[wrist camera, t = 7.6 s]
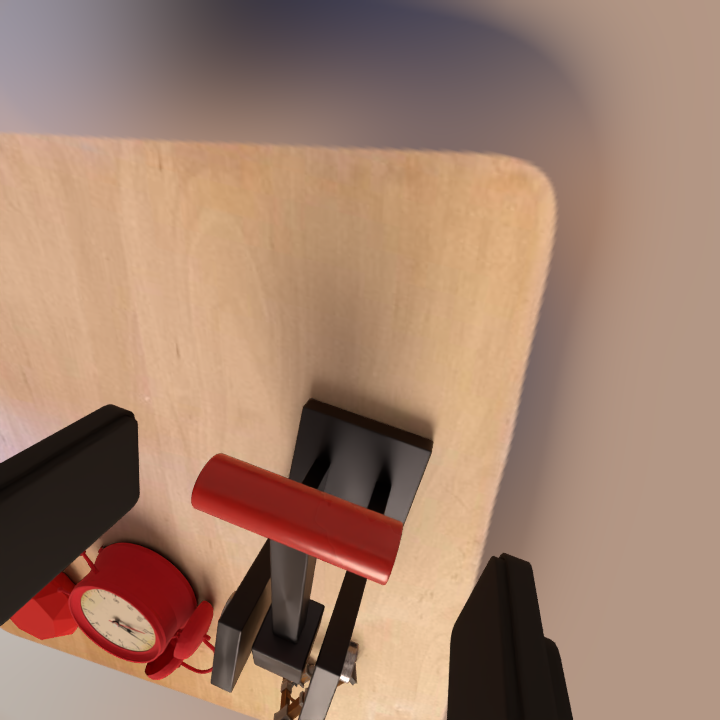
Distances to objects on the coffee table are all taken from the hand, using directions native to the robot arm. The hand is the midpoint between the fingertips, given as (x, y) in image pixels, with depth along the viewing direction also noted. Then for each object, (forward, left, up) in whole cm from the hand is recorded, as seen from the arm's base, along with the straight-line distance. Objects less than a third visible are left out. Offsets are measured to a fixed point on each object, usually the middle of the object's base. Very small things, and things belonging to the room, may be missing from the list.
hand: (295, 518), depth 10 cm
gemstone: (+37, -27, -14) cm, 48 cm away
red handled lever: (+5, 0, -3) cm, 6 cm away
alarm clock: (+30, -14, -14) cm, 36 cm away
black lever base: (+10, 0, -13) cm, 17 cm away
